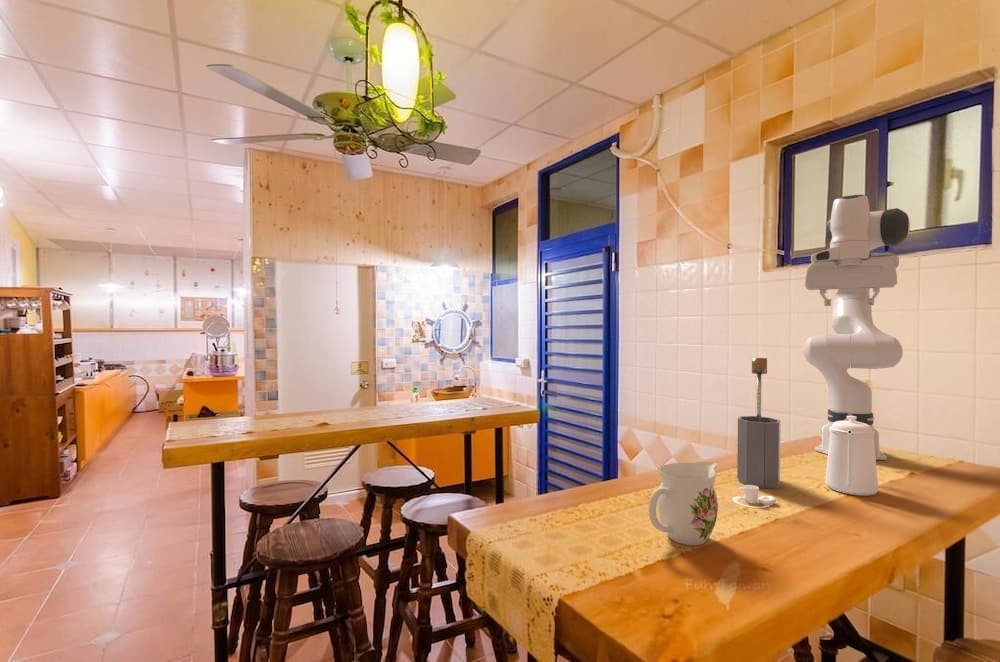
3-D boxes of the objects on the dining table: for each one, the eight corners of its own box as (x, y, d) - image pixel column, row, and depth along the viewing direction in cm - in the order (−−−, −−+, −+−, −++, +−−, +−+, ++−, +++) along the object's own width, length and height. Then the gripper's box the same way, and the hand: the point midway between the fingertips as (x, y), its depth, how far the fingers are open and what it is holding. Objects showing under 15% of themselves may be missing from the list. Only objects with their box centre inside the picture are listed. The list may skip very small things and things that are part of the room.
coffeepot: (821, 499, 118) (821, 421, 117) (828, 474, 137) (829, 407, 137) (878, 509, 111) (879, 426, 111) (877, 481, 131) (878, 411, 131)
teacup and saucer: (778, 504, 116) (778, 487, 115) (769, 514, 110) (769, 495, 110) (738, 495, 121) (738, 479, 121) (728, 504, 116) (728, 487, 115)
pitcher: (628, 538, 96) (629, 468, 96) (691, 520, 105) (691, 456, 105) (673, 561, 86) (674, 483, 86) (738, 539, 95) (738, 469, 95)
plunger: (745, 443, 135) (746, 356, 135) (775, 446, 131) (776, 358, 131) (741, 448, 129) (742, 358, 129) (772, 452, 125) (773, 359, 125)
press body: (743, 472, 139) (743, 413, 139) (782, 478, 134) (782, 417, 134) (735, 484, 129) (735, 420, 129) (777, 491, 123) (777, 424, 123)
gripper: (898, 253, 129) (897, 305, 129) (806, 259, 141) (805, 307, 141) (899, 249, 124) (899, 303, 124) (804, 255, 136) (803, 305, 136)
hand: (848, 305), depth 132 cm, fingers open, 8 cm apart
